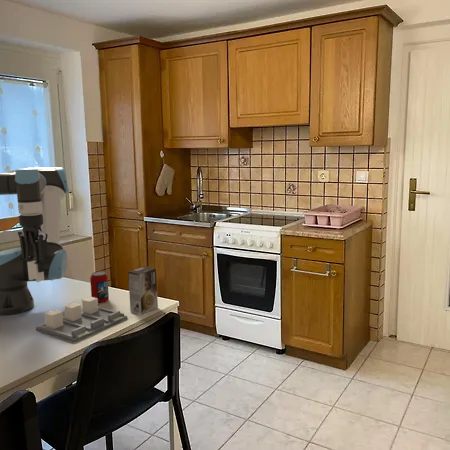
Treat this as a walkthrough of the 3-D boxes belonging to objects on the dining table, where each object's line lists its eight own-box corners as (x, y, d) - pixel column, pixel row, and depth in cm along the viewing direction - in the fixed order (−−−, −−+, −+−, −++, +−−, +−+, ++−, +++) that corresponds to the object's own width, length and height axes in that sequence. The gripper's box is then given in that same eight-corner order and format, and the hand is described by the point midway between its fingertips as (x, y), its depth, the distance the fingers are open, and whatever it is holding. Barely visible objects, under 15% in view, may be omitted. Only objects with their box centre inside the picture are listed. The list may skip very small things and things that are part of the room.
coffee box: (146, 304, 180) (144, 265, 177) (158, 307, 176) (156, 268, 173) (129, 311, 173) (127, 271, 170) (141, 315, 169) (139, 273, 166)
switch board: (35, 330, 156) (35, 321, 156) (90, 308, 176) (89, 301, 176) (74, 342, 146) (73, 334, 145) (127, 318, 166) (127, 310, 165)
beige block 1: (46, 326, 156) (44, 313, 155) (55, 323, 159) (54, 309, 159) (53, 329, 154) (52, 315, 153) (63, 325, 157) (62, 311, 156)
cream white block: (82, 312, 169) (82, 299, 169) (91, 309, 173) (90, 296, 172) (90, 314, 167) (89, 301, 166) (98, 311, 171) (97, 298, 170)
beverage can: (104, 304, 180) (102, 275, 178) (88, 303, 182) (86, 275, 180) (111, 299, 187) (110, 271, 185) (96, 298, 188) (94, 270, 186)
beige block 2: (65, 319, 163) (64, 306, 162) (74, 315, 166) (73, 302, 165) (72, 321, 161) (71, 308, 160) (81, 317, 164) (80, 304, 163)
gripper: (6, 213, 155) (12, 279, 160) (35, 217, 147) (41, 286, 151) (25, 210, 162) (31, 274, 166) (55, 214, 153) (60, 280, 157)
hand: (36, 279), depth 158 cm, fingers open, 3 cm apart
